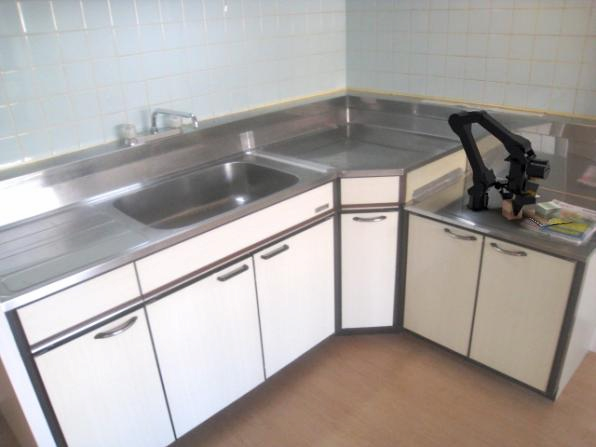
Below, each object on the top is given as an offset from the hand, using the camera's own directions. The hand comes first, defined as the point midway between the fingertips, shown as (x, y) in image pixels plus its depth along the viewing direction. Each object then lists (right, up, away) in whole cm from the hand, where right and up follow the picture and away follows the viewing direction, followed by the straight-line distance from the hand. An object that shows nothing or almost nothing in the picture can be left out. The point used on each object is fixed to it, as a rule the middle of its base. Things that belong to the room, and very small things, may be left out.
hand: (511, 213), depth 187 cm
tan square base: (+12, -2, -3) cm, 12 cm away
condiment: (+13, +8, +18) cm, 23 cm away
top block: (0, -1, +1) cm, 1 cm away
